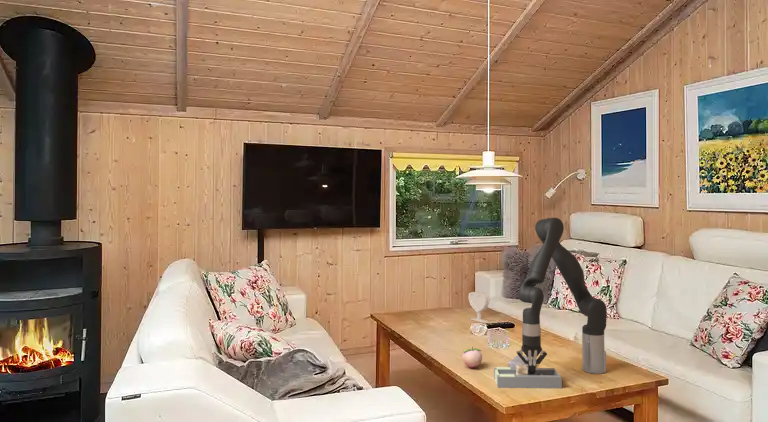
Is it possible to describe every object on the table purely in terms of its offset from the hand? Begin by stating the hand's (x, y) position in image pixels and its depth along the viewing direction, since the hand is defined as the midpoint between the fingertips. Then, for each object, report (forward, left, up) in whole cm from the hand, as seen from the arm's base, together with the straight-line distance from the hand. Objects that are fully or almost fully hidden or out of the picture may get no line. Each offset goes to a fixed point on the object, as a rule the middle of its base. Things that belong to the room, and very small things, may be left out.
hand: (531, 373), depth 215 cm
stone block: (0, -20, -5) cm, 21 cm away
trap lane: (+2, 0, -4) cm, 5 cm away
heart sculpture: (+10, -110, -4) cm, 111 cm away
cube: (+4, 0, -1) cm, 4 cm away
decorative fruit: (+23, -18, -4) cm, 30 cm away
